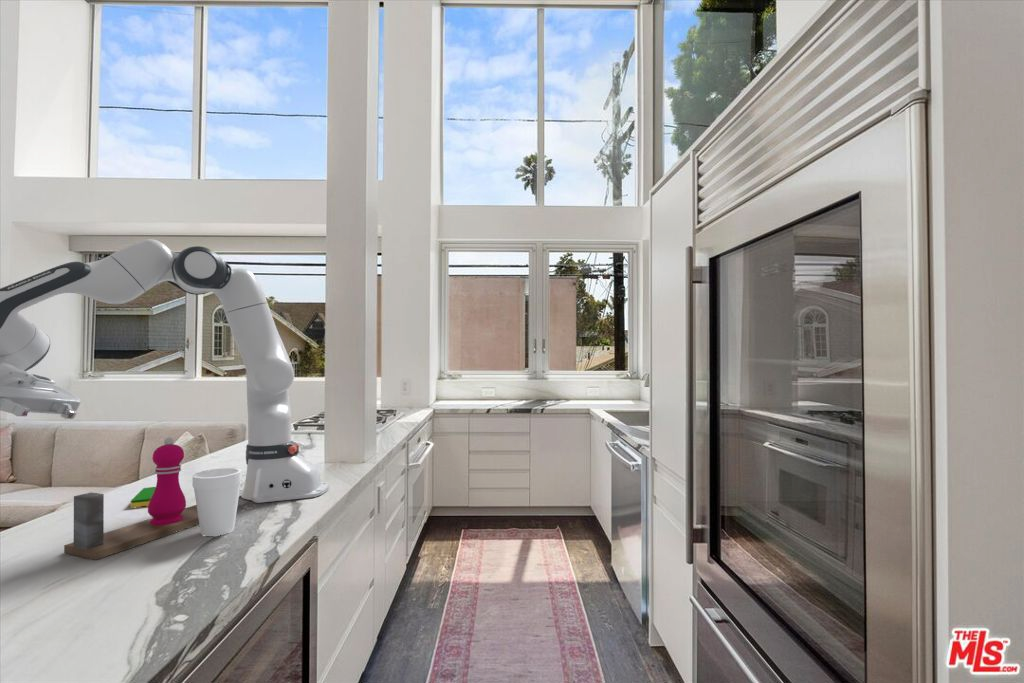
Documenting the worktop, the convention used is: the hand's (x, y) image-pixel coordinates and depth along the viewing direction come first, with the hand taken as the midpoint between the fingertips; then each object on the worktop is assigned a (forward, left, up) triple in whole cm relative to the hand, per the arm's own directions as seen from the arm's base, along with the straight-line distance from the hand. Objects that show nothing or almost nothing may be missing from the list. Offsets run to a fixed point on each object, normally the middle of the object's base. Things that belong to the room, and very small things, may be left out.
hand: (49, 414), depth 104 cm
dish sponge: (-2, -34, -28) cm, 44 cm away
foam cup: (-30, -4, -28) cm, 41 cm away
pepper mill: (-18, -9, -27) cm, 34 cm away
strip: (-16, -6, -27) cm, 32 cm away
